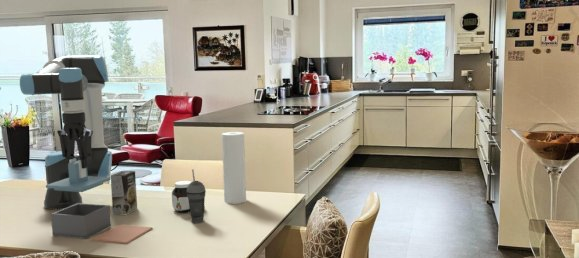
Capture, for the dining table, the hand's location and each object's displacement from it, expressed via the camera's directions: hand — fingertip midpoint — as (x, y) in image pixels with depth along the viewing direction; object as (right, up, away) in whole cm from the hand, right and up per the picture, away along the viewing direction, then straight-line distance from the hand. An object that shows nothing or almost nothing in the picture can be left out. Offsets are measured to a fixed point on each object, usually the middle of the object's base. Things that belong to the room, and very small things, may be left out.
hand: (78, 176), depth 185 cm
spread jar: (+35, -16, +26) cm, 47 cm away
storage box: (0, -20, +2) cm, 20 cm away
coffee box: (+9, -17, +26) cm, 32 cm away
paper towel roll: (+52, -14, +39) cm, 67 cm away
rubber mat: (+17, -20, -2) cm, 26 cm away
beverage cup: (+41, -18, +11) cm, 46 cm away
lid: (0, -4, +1) cm, 4 cm away
